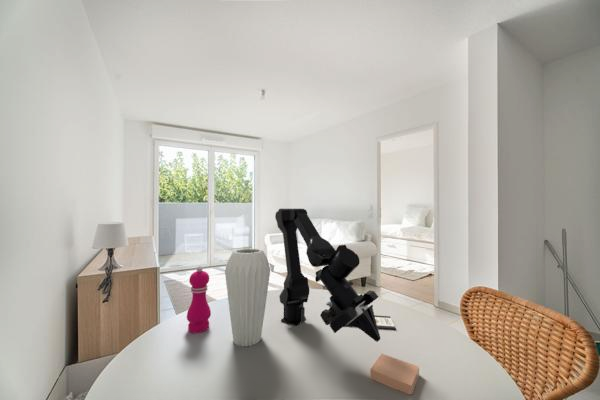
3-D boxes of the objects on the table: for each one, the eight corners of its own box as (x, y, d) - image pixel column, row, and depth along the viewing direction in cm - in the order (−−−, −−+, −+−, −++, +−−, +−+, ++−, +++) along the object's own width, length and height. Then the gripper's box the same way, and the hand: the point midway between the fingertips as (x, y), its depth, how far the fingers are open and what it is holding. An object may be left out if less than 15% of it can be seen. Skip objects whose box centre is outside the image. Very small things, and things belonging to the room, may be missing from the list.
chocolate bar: (339, 313, 94) (390, 316, 92) (339, 315, 94) (390, 319, 92) (339, 324, 85) (395, 328, 83) (339, 327, 85) (395, 331, 83)
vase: (215, 339, 76) (216, 250, 77) (252, 324, 86) (253, 245, 86) (239, 358, 67) (241, 257, 67) (278, 339, 76) (279, 251, 77)
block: (370, 369, 60) (411, 385, 54) (381, 353, 66) (419, 366, 61) (370, 381, 60) (411, 398, 54) (381, 364, 66) (419, 378, 61)
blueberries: (339, 303, 107) (339, 298, 107) (342, 309, 99) (342, 304, 100) (323, 303, 107) (323, 298, 107) (325, 309, 99) (325, 304, 100)
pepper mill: (191, 336, 78) (192, 270, 78) (183, 327, 83) (184, 266, 84) (214, 329, 83) (215, 266, 83) (205, 321, 88) (206, 262, 88)
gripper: (335, 293, 80) (369, 340, 73) (300, 313, 65) (340, 375, 58) (359, 272, 75) (398, 319, 69) (328, 288, 60) (374, 352, 54)
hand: (378, 340), depth 62 cm, fingers closed
